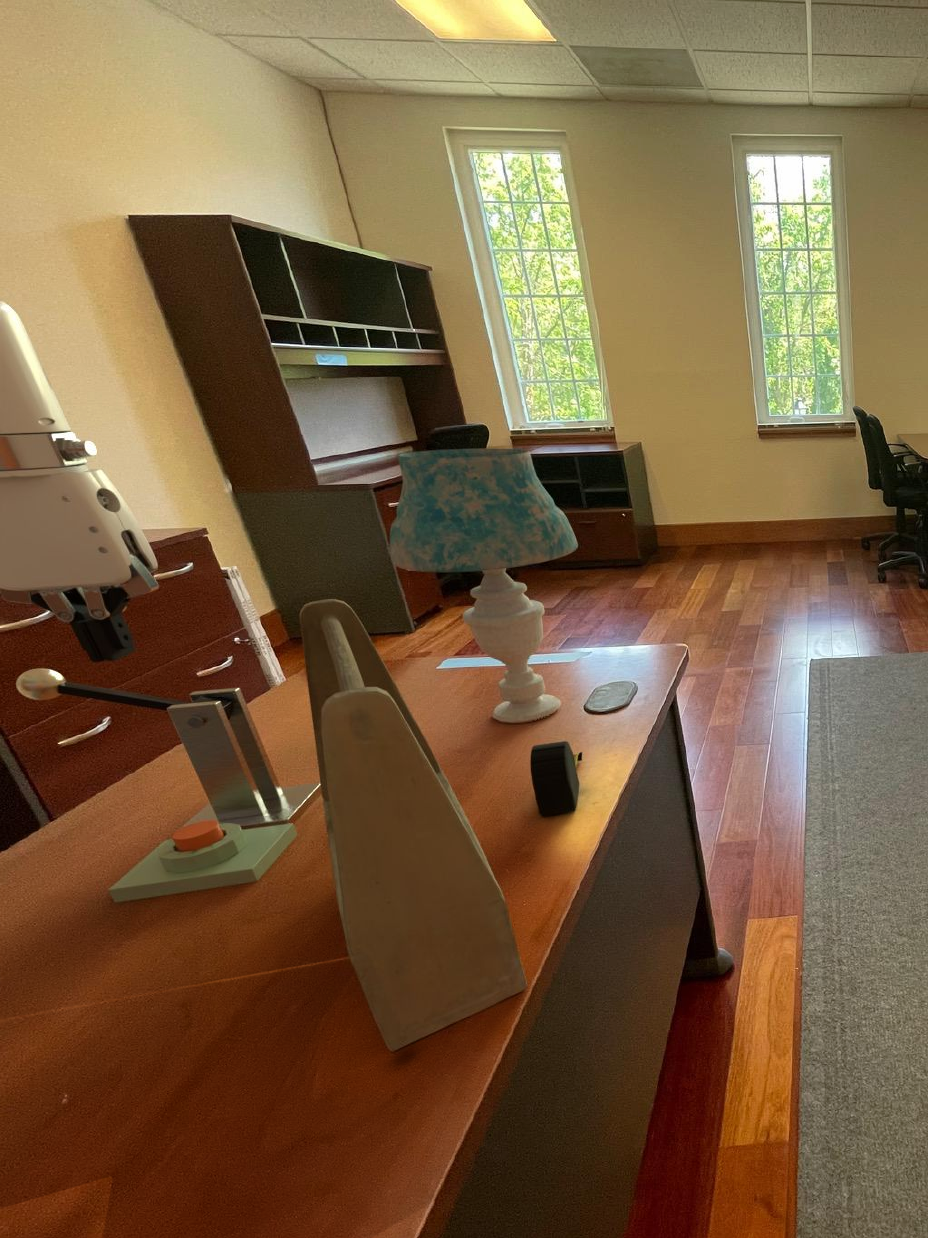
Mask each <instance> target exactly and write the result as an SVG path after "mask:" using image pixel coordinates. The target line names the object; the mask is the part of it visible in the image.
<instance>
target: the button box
mask: <svg viewBox="0 0 928 1238" xmlns="http://www.w3.org/2000/svg"><path fill="white" fill-rule="evenodd" d="M219 826H220V828H221V830H222V832H223V835H224V837H223V838H222V839H221V840H220V841H218V842H216V843H214V844H212V845H210V846H207V847H204V848H201V849H198V850H194V851H187V852H180V851H179V850H178V848H177V846H176V844H175V842H174V840H173V838H171V839H165V840H163V841H162V842H161V843H160V844H159V845H158V846H157V847H155V848H154V849H153V850H152V851H151V852H150V853H148V854H147V855H146V856H145V857H144V858H143V859H142V860H140V861H139V862H138V863H136V865H135V866H133V867H132V868H131V869H130V870H129V871H128V872H127V873H126V874H124V875H123V876H122V877H121V878H120V879H118V881H116V882H115V883H114V884H113V885H112V886H111V887H109V888H108V893H109V894H110V897H111V898H112V900H113V902H114V903H122V902H129V901H136V900H142V899H150V898H155V897H163V896H169V895H176V894H183V893H189V892H195V891H202V890H208V889H216V888H222V887H229V886H235V885H241V884H248V883H255V882H256V883H257V882H258V881H259V880H260V879H261V878H262V877H263V876H264V874H265V873H266V872H268V870H269V869H270V867H271V866H273V864H274V863H275V862H276V861H277V859H278V858H279V857H280V856H281V855H282V854H283V853H284V851H286V849H287V848H288V846H289V845H291V843H292V842H293V841H294V840H295V839H296V838H297V836H298V833H297V830H296V827H295V824H294V825H293V823H290V824H283V825H275V826H268V827H260V828H253V829H245V830H242V829H241V827H240V825H237V824H231V823H222V824H219Z"/></svg>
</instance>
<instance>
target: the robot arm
mask: <svg viewBox="0 0 928 1238" xmlns="http://www.w3.org/2000/svg"><path fill="white" fill-rule="evenodd" d="M63 411H64V410H63V409H62V407H61V405H60V403H59V401H58V398H57V395H56V393H55V392H54V389H53V387H52V385H51V383H50V380H49V378H48V376H47V373H46V371H45V369H44V368H43V365H42V363H41V361H40V359H39V357H38V354H37V351H36V350H35V347H34V345H33V343H32V341H31V338H30V336H29V334H28V332H27V330H26V327H25V325H24V323H23V322H22V320H21V318H20V316H19V314H18V312H16V311H15V309H13V307H12V306H11V305H8V304H7V303H6V302H4V301H3V300H0V598H2V599H3V601H5V602H9V603H18V604H25V605H36V606H39V608H40V607H41V608H42V609H45V610H47V611H48V612H51V613H52V614H54V615H55V617H56V618H57V620H59V621H61V622H63V623H69V625H70V627H71V629H72V631H73V633H74V635H75V636H76V639H77V641H78V643H79V644H80V647H81V648H82V650H83V651H84V652H86V654H87V656H88V658H89V660H90V661H91V663H92V662H93V663H101V662H104V661H107V662H114V661H118V660H120V659H122V658H124V657H126V656H128V655H130V654H133V653H134V652H136V647H135V640H134V637H133V635H132V633H131V631H130V629H129V626H128V625H127V622H126V620H125V618H124V616H123V614H122V613H123V612H125V611H126V610H127V609H128V607H127V606H128V604H129V603H130V601H131V600H132V599H133V598H135V597H139V596H142V595H146V594H149V593H153V592H154V591H157V590H159V588H160V585H159V582H158V581H157V580H156V578H155V577H154V576H153V575H152V573H154V572H156V571H157V570H158V568H159V565H158V561H157V558H156V555H155V553H154V551H153V549H152V547H151V545H150V543H149V541H148V539H147V537H146V535H145V533H144V531H143V530H142V528H141V526H140V524H139V522H138V519H136V517H135V515H134V514H133V511H132V510H131V509H130V507H129V506H128V504H127V502H126V500H125V499H124V498H123V496H122V495H121V493H120V492H119V490H118V489H117V488H116V486H115V485H114V483H113V482H112V481H111V480H110V479H109V477H108V476H107V475H106V473H105V472H104V471H103V470H102V469H100V468H91V469H89V467H88V460H87V458H89V457H90V458H91V457H92V458H93V457H96V456H97V455H98V449H97V447H96V445H95V444H94V443H93V442H92V441H91V440H80V439H78V438H77V436H76V434H75V432H73V431H71V430H72V429H71V427H70V424H69V422H68V420H67V418H66V416H65V414H64V412H63Z"/></svg>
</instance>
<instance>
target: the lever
mask: <svg viewBox="0 0 928 1238" xmlns="http://www.w3.org/2000/svg"><path fill="white" fill-rule="evenodd" d="M15 686H16V689H17V691H18V693H20V694H21V695H22V696H24V697H26V698H28V699H31V700H36V701H48V700H52V699H55V698H58V697H59V696H61V695H67V696H70V697H71V696H73V697H77V698H84V699H91V700H97V701H103V702H108V703H109V702H110V703H116V704H121V705H127V706H128V705H129V706H135V707H140V708H147V709H153V710H157V711H158V710H159V711H166V712H168V711H167V708H168V707H170V706H172V705H179V704H190V703H201V702H212V701H220V702H221V704H222V707H223V709H224V711H225V714H226V716H227V718H228V721H229V720H230V717H231V705H232V702H231V701H225V700H219V699H213V698H207V697H200V698H198V699H196V700H195V701H193V702H192V701H191V702H189V701H185V700H178V699H173V698H166V697H161V696H154V695H147V694H142V693H136V692H130V691H123V690H119V689H113V688H112V689H111V688H107V687H99V686H95V685H94V686H93V685H87V684H82V683H76V682H70V681H67V679H66V678H65V676H63V675H62V674H61V673H59V672H58V671H56V670H55V669H54V670H53V669H50V668H43V667H42V668H32V669H28V670H27V671H24V672H22V674H20V675H19V676H18V677H17V679H16V682H15Z"/></svg>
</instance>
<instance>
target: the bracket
mask: <svg viewBox="0 0 928 1238" xmlns="http://www.w3.org/2000/svg"><path fill="white" fill-rule="evenodd" d="M188 696H189V698H190V700H191V702H190V704H179V705H172V706H170V707H168V708H167V711H166V712H168V715H169V717H170V720H171V721H172V723H173V726H174V728H175V730H176V732H177V734H178V737H179V739H180V741H181V743H182V745H183V747H184V749H185V752H186V754H187V757H188V758H189V760H190V763H191V764H192V767H193V769H194V771H195V774H196V775H197V777H198V779H199V782H200V784H201V786H202V788H203V791H204V793H205V796H206V797H207V800H208V803H207V804H206V805H205V806H204V807H202V808H201V809H200V810H199V811H198V812H197V813H196V814H194V815H193V816H192V817H191V818H190V819H189V820H187V822H186V823H184V824H183V825H182V826H181V827H179V829H181V828H183V827H185V826H187V825H190V824H193V823H196V822H201V821H208V820H213V821H217V822H218V824H222V823H231V824H237V825H240V827H241V829H242V830H245V829H253V828H260V827H268V826H275V825H283V824H290V823H293V825H294V826H295V824H296V823H297V821H299V819H300V818H301V817H302V816H303V815H304V814H305V812H306V811H307V810H308V809H309V808H310V807H311V806H312V804H314V802H316V800H317V799H318V798H319V797H320V796H321V795H322V793H321V784H320V782H314V783H307V784H299V785H290V786H281V785H280V783H279V780H278V778H277V776H276V773H275V770H274V767H273V766H272V763H271V760H270V758H269V756H268V754H267V751H266V749H265V746H264V744H263V741H262V739H261V736H260V734H259V732H258V729H257V726H256V725H255V721H254V719H253V717H252V715H251V712H250V709H249V708H248V704H247V702H246V700H245V697H244V696H243V694H242V690H241V688H240V687H232V688H230V687H229V688H219V689H208V690H207V689H206V690H198V691H197V690H196V691H192V692H191V693H189V695H188ZM200 697H207V698H213V699H219V700H225V701H231V702H232V705H231V717H230V720H229V721H228V718H227V716H226V714H225V711H224V709H223V707H222V704H221V702H220V701H212V702H201V703H192V702H193V701H195V700H196V699H198V698H200Z"/></svg>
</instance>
